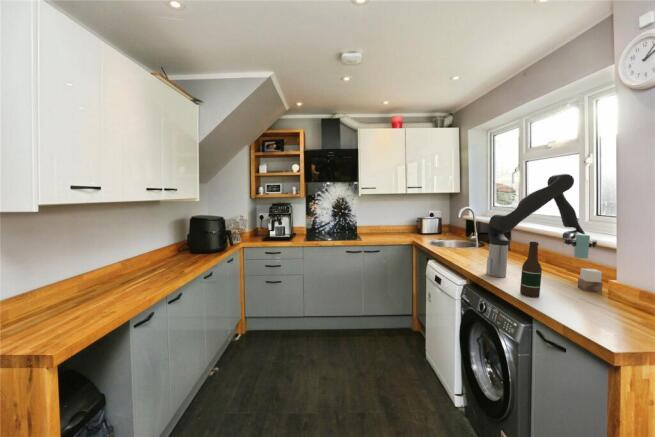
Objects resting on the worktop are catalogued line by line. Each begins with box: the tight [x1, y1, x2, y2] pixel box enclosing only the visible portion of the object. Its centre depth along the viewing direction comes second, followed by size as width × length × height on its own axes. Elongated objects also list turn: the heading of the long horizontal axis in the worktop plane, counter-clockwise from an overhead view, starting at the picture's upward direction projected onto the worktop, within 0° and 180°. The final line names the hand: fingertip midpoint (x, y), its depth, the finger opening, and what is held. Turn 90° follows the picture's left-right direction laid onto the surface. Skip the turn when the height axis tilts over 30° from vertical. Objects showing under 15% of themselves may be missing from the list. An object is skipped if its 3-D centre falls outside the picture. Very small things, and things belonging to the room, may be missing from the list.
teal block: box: [573, 233, 591, 259], centre depth 165 cm, size 5×5×11 cm
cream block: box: [579, 267, 603, 282], centre depth 163 cm, size 6×6×5 cm
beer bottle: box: [519, 241, 542, 299], centre depth 151 cm, size 8×8×24 cm
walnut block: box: [577, 277, 604, 294], centre depth 164 cm, size 7×7×5 cm
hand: (582, 244), depth 162 cm, fingers closed on teal block, 5 cm apart
